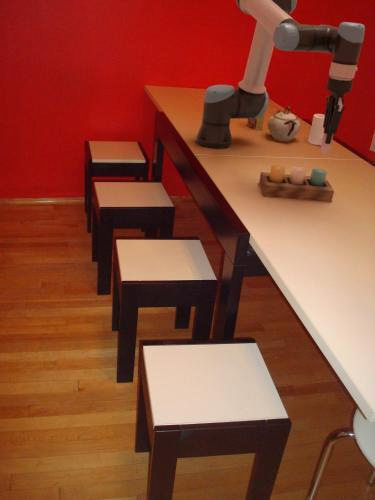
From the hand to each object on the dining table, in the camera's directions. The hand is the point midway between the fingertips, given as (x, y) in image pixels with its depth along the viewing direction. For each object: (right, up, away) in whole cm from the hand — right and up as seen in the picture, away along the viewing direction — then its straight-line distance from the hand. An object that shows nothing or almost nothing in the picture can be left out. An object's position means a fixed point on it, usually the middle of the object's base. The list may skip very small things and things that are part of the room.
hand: (324, 152), depth 164 cm
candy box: (-13, +27, +76) cm, 82 cm away
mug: (+14, +16, +61) cm, 65 cm away
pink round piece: (-8, -9, +6) cm, 14 cm away
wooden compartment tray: (-8, -12, +7) cm, 17 cm away
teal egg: (-1, -10, +6) cm, 12 cm away
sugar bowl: (-2, +18, +63) cm, 66 cm away
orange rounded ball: (-15, -9, +5) cm, 18 cm away
